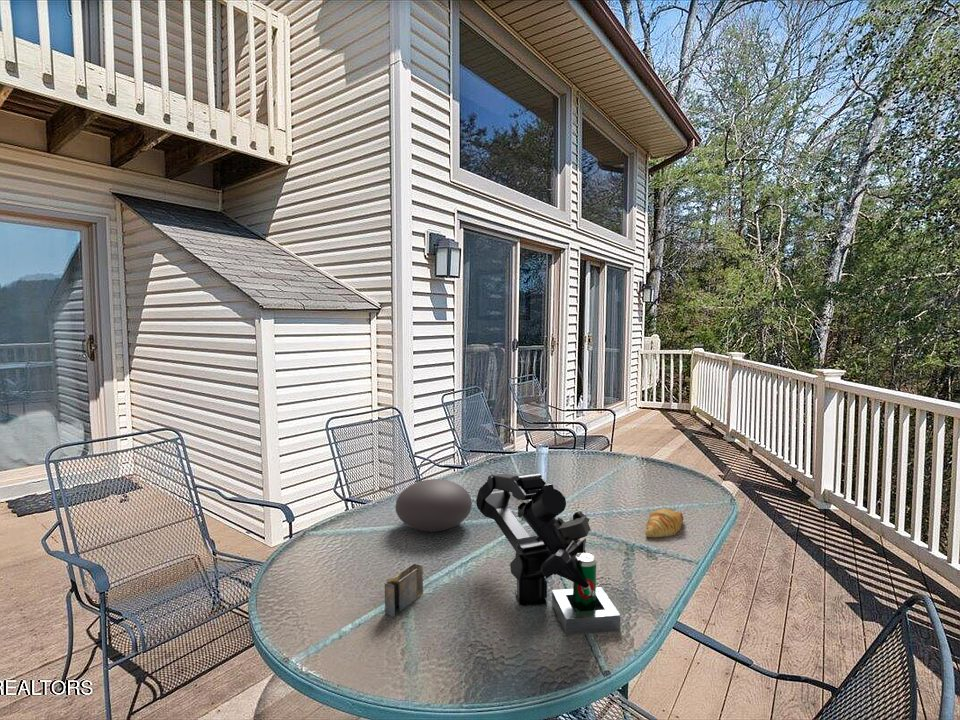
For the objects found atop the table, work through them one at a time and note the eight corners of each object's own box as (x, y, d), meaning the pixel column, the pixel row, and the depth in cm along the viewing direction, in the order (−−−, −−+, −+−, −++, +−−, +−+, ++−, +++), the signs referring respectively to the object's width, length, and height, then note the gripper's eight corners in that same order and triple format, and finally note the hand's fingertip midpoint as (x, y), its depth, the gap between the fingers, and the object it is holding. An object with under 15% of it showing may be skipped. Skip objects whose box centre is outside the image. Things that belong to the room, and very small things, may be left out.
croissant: (655, 553, 157) (667, 534, 154) (629, 529, 163) (640, 511, 160) (687, 532, 171) (699, 514, 168) (662, 511, 177) (673, 493, 174)
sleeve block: (566, 634, 111) (566, 619, 111) (552, 604, 123) (552, 590, 123) (620, 630, 112) (620, 615, 112) (601, 600, 124) (601, 586, 124)
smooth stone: (487, 525, 170) (487, 480, 169) (430, 550, 152) (429, 500, 151) (437, 507, 187) (436, 466, 186) (380, 527, 169) (379, 483, 167)
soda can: (579, 598, 121) (580, 549, 120) (599, 606, 118) (600, 556, 117) (568, 608, 117) (569, 557, 116) (588, 616, 114) (589, 564, 113)
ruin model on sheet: (395, 618, 118) (394, 577, 117) (385, 615, 120) (384, 574, 119) (424, 595, 128) (424, 557, 127) (414, 592, 129) (413, 554, 129)
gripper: (555, 519, 109) (607, 582, 105) (580, 491, 125) (625, 545, 122) (520, 547, 113) (568, 609, 109) (548, 517, 130) (591, 569, 126)
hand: (590, 581), depth 116 cm, fingers closed on soda can, 5 cm apart
